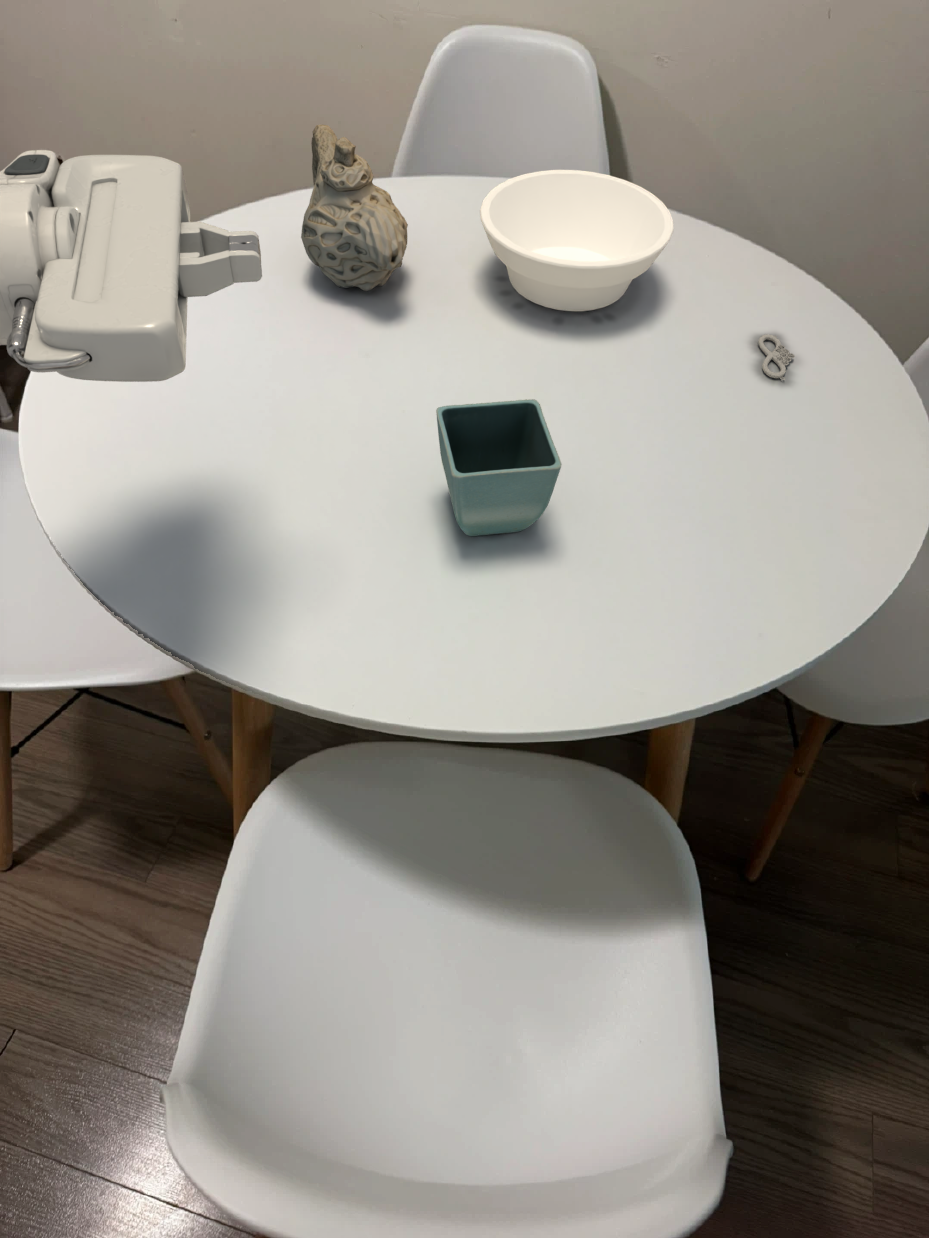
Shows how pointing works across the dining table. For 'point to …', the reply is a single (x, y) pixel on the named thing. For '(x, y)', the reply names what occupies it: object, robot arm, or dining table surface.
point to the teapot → (350, 217)
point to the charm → (775, 356)
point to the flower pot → (497, 464)
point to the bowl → (574, 235)
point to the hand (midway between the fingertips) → (260, 256)
